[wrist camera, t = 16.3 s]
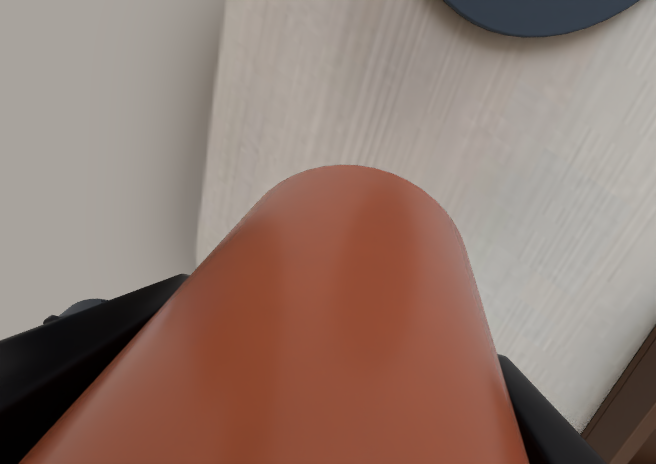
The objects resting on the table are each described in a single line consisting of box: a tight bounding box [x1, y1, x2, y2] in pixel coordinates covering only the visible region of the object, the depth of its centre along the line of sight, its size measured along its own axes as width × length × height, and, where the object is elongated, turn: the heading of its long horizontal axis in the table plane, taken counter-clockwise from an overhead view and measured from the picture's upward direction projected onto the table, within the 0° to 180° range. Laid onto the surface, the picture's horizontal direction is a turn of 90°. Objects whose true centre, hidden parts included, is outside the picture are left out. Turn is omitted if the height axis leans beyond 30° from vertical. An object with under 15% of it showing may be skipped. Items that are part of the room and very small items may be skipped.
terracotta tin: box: [19, 165, 530, 464], centre depth 6 cm, size 6×6×8 cm
